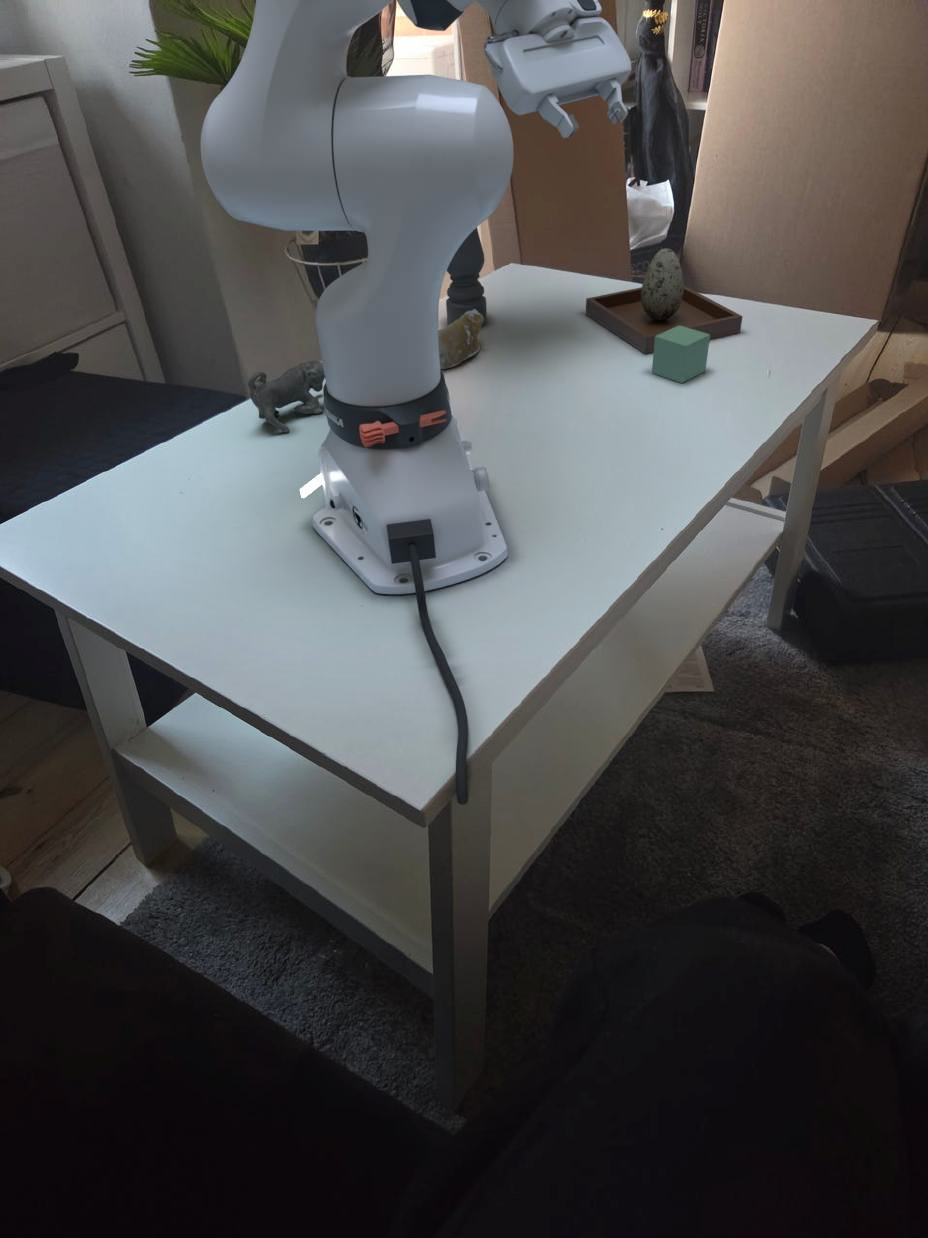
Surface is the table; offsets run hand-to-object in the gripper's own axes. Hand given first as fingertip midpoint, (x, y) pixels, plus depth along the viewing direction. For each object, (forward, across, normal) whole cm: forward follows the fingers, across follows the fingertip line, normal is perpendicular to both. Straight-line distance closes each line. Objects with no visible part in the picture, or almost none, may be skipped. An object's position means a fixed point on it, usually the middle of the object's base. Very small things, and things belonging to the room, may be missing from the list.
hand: (597, 126), depth 103 cm
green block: (+30, 0, +8) cm, 31 cm away
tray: (+22, +12, +17) cm, 30 cm away
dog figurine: (+9, -41, +30) cm, 51 cm away
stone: (+11, -16, +28) cm, 34 cm away
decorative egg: (+22, +12, +17) cm, 30 cm away
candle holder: (+5, -5, +34) cm, 34 cm away
